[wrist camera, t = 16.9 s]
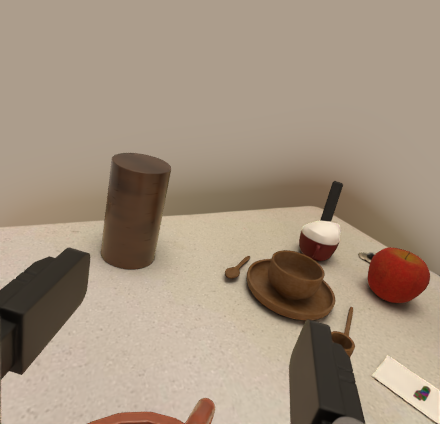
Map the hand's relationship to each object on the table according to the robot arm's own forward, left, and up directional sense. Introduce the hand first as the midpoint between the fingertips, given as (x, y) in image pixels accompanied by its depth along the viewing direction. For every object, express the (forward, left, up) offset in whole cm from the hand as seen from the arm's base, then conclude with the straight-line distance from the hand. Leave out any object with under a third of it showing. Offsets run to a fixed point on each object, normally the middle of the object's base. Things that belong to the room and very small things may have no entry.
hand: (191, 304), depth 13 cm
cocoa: (+48, -3, -19) cm, 52 cm away
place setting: (+29, -1, -19) cm, 35 cm away
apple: (+44, -15, -19) cm, 50 cm away
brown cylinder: (+26, +19, -19) cm, 38 cm away
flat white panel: (+26, -18, -19) cm, 37 cm away
